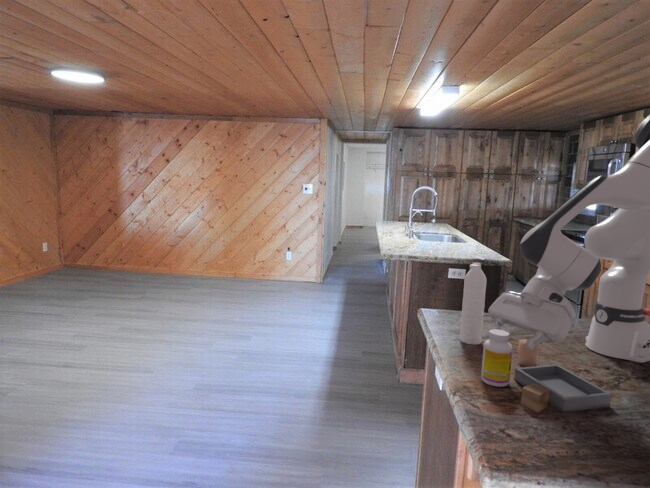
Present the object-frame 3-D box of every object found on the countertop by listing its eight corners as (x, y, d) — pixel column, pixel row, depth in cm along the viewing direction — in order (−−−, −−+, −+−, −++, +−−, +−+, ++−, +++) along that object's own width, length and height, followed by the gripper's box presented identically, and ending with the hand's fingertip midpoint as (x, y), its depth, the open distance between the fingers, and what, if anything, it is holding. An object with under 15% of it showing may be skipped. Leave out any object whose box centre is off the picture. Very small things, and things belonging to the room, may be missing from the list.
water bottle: (461, 336, 140) (467, 260, 136) (483, 340, 137) (489, 262, 133) (456, 344, 132) (462, 264, 128) (478, 349, 129) (485, 267, 125)
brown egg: (528, 358, 123) (530, 338, 122) (541, 366, 118) (543, 345, 117) (513, 360, 122) (515, 339, 121) (525, 367, 117) (527, 346, 116)
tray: (555, 375, 113) (557, 364, 112) (609, 406, 98) (611, 393, 97) (514, 379, 110) (515, 368, 109) (563, 412, 94) (564, 399, 94)
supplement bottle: (511, 389, 104) (516, 338, 102) (483, 386, 106) (487, 335, 104) (506, 377, 111) (510, 329, 109) (479, 374, 112) (483, 326, 110)
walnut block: (530, 399, 100) (532, 383, 99) (547, 407, 97) (549, 390, 96) (520, 404, 98) (522, 387, 97) (537, 412, 94) (539, 395, 94)
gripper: (500, 282, 119) (472, 321, 115) (574, 300, 101) (543, 347, 97) (510, 296, 121) (483, 335, 118) (583, 316, 104) (554, 363, 100)
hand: (511, 341), depth 108 cm, fingers open, 8 cm apart
